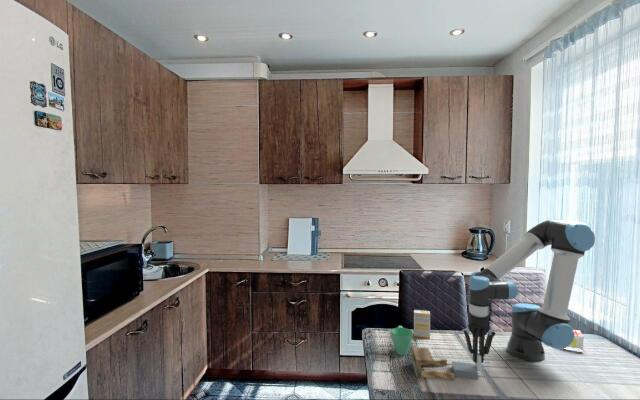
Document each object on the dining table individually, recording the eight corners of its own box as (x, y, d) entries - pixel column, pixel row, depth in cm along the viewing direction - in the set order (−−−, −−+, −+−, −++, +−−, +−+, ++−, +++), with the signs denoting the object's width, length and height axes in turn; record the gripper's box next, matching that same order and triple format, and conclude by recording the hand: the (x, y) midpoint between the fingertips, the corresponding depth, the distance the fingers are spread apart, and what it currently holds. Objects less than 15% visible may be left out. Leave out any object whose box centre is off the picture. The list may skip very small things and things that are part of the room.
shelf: (446, 363, 146) (446, 347, 146) (455, 380, 133) (455, 363, 133) (411, 362, 148) (412, 346, 147) (417, 378, 135) (417, 361, 134)
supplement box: (430, 335, 175) (430, 310, 175) (430, 339, 171) (430, 314, 170) (414, 333, 178) (414, 309, 178) (413, 336, 173) (413, 312, 173)
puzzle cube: (562, 349, 159) (562, 333, 159) (560, 343, 166) (560, 327, 166) (583, 353, 155) (583, 336, 155) (580, 346, 162) (580, 330, 162)
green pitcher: (414, 358, 151) (414, 336, 151) (392, 357, 152) (392, 335, 152) (409, 343, 166) (409, 324, 165) (389, 342, 167) (389, 323, 166)
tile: (474, 370, 141) (474, 363, 141) (477, 379, 134) (477, 372, 134) (451, 368, 143) (451, 361, 143) (454, 376, 137) (454, 369, 136)
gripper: (491, 311, 141) (490, 365, 141) (459, 310, 142) (459, 364, 143) (499, 318, 133) (498, 375, 134) (465, 316, 135) (464, 373, 135)
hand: (477, 369), depth 138 cm, fingers closed
